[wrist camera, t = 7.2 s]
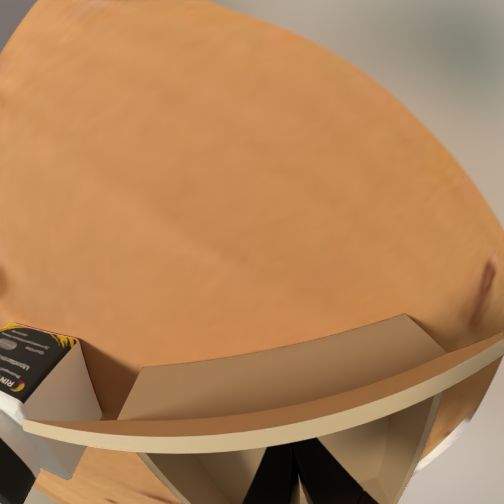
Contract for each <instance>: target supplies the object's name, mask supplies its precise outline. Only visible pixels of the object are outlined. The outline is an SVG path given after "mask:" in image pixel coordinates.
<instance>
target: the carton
mask: <svg viewBox="0 0 504 504" xmlns="http://www.w3.org/2000/svg"><path fill="white" fill-rule="evenodd" d="M445 354H447V352H446V351H445V350H444V349H443V348H442V347H441V346H440V345H439V344H437V343H436V342H435V341H434V340H433V339H432V338H431V337H430V336H429V335H428V334H427V333H426V332H425V331H424V330H422V329H421V328H420V327H419V326H418V325H417V324H416V323H415V322H414V321H413V320H412V319H410V318H409V317H408V316H407V315H406V314H402V315H399V316H396V317H393V318H390V319H387V320H384V321H380V322H377V323H374V324H371V325H367V326H364V327H361V328H357V329H354V330H350V331H346V332H343V333H339V334H335V335H332V336H328V337H324V338H320V339H316V340H312V341H308V342H303V343H299V344H294V345H290V346H285V347H281V348H276V349H271V350H266V351H261V352H256V353H250V354H245V355H239V356H233V357H227V358H220V359H214V360H207V361H199V362H192V363H183V364H174V365H165V366H154V367H142V369H141V371H140V373H139V375H138V377H137V379H136V381H135V383H134V385H133V387H132V389H131V391H130V393H129V396H128V398H127V400H126V402H125V404H124V406H123V408H122V410H121V412H120V414H119V416H118V419H117V420H144V421H155V420H186V419H201V418H213V417H223V416H231V415H239V414H247V413H253V412H260V411H266V410H271V409H277V408H282V407H287V406H292V405H297V404H301V403H306V402H310V401H314V400H318V399H322V398H326V397H330V396H334V395H337V394H341V393H344V392H348V391H351V390H354V389H358V388H361V387H364V386H367V385H370V384H373V383H376V382H379V381H382V380H384V379H387V378H390V377H393V376H395V375H398V374H401V373H403V372H406V371H408V370H411V369H413V368H416V367H418V366H420V365H423V364H425V363H427V362H430V361H432V360H434V359H436V358H438V357H440V356H443V355H445ZM442 394H443V391H441V392H439V393H437V394H435V395H433V396H431V397H429V398H427V399H425V400H423V401H421V402H418V403H416V404H414V405H412V406H409V407H407V408H404V409H402V410H400V411H397V412H395V413H392V414H389V415H387V416H384V417H381V418H379V419H376V420H373V421H370V422H367V423H364V424H361V425H358V426H355V427H352V428H348V429H345V430H341V431H338V432H334V433H331V434H327V435H323V436H319V437H317V438H318V439H319V440H320V441H321V443H322V444H323V445H324V446H325V447H326V448H327V449H328V451H329V452H330V453H331V454H332V455H333V456H334V457H335V458H336V460H337V461H338V462H339V463H340V464H341V465H342V466H343V467H344V468H345V469H346V470H347V472H348V473H349V474H350V475H351V476H352V477H353V478H354V479H355V480H356V481H357V482H358V483H359V484H360V485H361V486H362V487H363V489H364V491H367V492H368V493H369V494H370V495H371V497H372V498H374V499H375V500H376V501H377V502H378V503H379V504H397V503H398V501H399V499H400V498H401V496H402V494H403V492H404V490H405V488H406V486H407V484H408V482H409V480H410V478H411V476H412V474H413V472H414V470H415V468H416V466H417V463H418V461H419V459H420V456H421V454H422V452H423V449H424V447H425V444H426V442H427V439H428V437H429V434H430V431H431V428H432V426H433V423H434V420H435V417H436V414H437V411H438V407H439V404H440V401H441V397H442ZM265 450H266V447H262V448H255V449H247V450H238V451H227V452H213V453H186V454H170V453H144V452H136V453H137V455H138V456H139V457H140V458H141V459H142V461H143V462H144V463H145V464H146V465H147V466H148V468H149V469H150V470H151V471H152V472H153V473H154V474H155V476H156V477H157V478H158V479H159V480H160V481H161V482H162V483H163V484H164V485H165V486H166V487H167V488H168V489H169V490H170V491H171V492H172V493H173V494H174V495H175V496H176V497H177V498H178V499H179V500H180V501H181V502H182V503H183V504H242V502H243V500H244V498H245V495H246V493H247V491H248V489H249V487H250V485H251V482H252V480H253V478H254V476H255V473H256V471H257V469H258V466H259V464H260V462H261V459H262V457H263V454H264V452H265ZM299 481H300V479H299ZM300 504H308V503H307V500H306V498H305V495H304V492H303V489H302V486H301V483H300Z"/></svg>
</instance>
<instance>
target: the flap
mask: <svg viewBox="0 0 504 504" xmlns="http://www.w3.org/2000/svg"><path fill="white" fill-rule="evenodd" d="M502 355H504V331H503V332H501V333H499V334H496V335H494V336H492V337H489V338H487V339H485V340H482V341H480V342H477V343H475V344H472V345H470V346H467V347H464V348H462V349H459V350H456V351H453V352H450V353H447V354H445V355H443V356H440V357H438V358H436V359H434V360H432V361H430V362H427V363H425V364H423V365H420V366H418V367H416V368H413V369H411V370H408V371H406V372H403V373H401V374H398V375H395V376H393V377H390V378H387V379H384V380H382V381H379V382H376V383H373V384H370V385H367V386H364V387H361V388H358V389H354V390H351V391H348V392H344V393H341V394H337V395H334V396H330V397H326V398H322V399H318V400H314V401H310V402H306V403H301V404H297V405H292V406H287V407H282V408H277V409H271V410H266V411H260V412H253V413H247V414H239V415H231V416H223V417H213V418H201V419H186V420H155V421H144V420H107V421H48V420H33V419H22V425H23V431H26V432H29V433H33V434H36V435H40V436H43V437H47V438H51V439H55V440H60V441H64V442H69V443H74V444H79V445H84V446H90V447H96V448H103V449H111V450H120V451H130V452H144V453H170V454H186V453H213V452H227V451H238V450H247V449H255V448H262V447H269V446H275V445H281V444H286V443H291V442H296V441H301V440H306V439H310V438H315V437H319V436H323V435H327V434H331V433H334V432H338V431H341V430H345V429H348V428H352V427H355V426H358V425H361V424H364V423H367V422H370V421H373V420H376V419H379V418H381V417H384V416H387V415H389V414H392V413H395V412H397V411H400V410H402V409H404V408H407V407H409V406H412V405H414V404H416V403H418V402H421V401H423V400H425V399H427V398H429V397H431V396H433V395H435V394H437V393H439V392H441V391H443V390H445V389H447V388H449V387H451V386H453V385H455V384H457V383H459V382H460V381H462V380H464V379H466V378H467V377H469V376H471V375H473V374H474V373H476V372H478V371H479V370H481V369H482V368H484V367H486V366H487V365H489V364H490V363H492V362H493V361H495V360H496V359H498V358H499V357H501V356H502Z"/></svg>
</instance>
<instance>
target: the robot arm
mask: <svg viewBox="0 0 504 504" xmlns="http://www.w3.org/2000/svg"><path fill="white" fill-rule="evenodd" d="M299 479H300V481H299ZM300 483H301V486H302V489H303V492H304V495H305V498H306V500H307V503H308V504H379V503H378V502H377V501H376V500H375V499H374V498H372V497H371V495H370V494H369V493H368V492H367V491H364V489H363V487H362V486H361V485H360V484H359V483H358V482H357V481H356V480H355V479H354V478H353V477H352V476H351V475H350V474H349V473H348V472H347V470H346V469H345V468H344V467H343V466H342V465H341V464H340V463H339V462H338V461H337V460H336V458H335V457H334V456H333V455H332V454H331V453H330V452H329V451H328V449H327V448H326V447H325V446H324V445H323V444H322V443H321V441H320V440H319V439H318V438H317V437H315V438H310V439H306V440H301V441H296V442H291V443H286V444H281V445H275V446H269V447H266V450H265V452H264V454H263V457H262V459H261V462H260V464H259V466H258V469H257V471H256V473H255V476H254V478H253V480H252V482H251V485H250V487H249V489H248V491H247V493H246V495H245V498H244V500H243V502H242V504H300Z"/></svg>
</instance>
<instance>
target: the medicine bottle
mask: <svg viewBox="0 0 504 504" xmlns="http://www.w3.org/2000/svg"><path fill="white" fill-rule="evenodd" d="M101 417H102V411H101V408H100V406H99V403H98V400H97V397H96V395H95V392H94V389H93V386H92V383H91V380H90V377H89V374H88V371H87V367H86V364H85V360H84V357H83V353H82V350H81V346H80V342H79V340H78V339H76V338H73V337H69V336H64V335H60V334H55V333H51V332H47V331H43V330H39V329H35V328H31V327H28V326H24V325H21V324H17V323H14V322H10V323H8V324H7V325H6V326H4V327H3V328H2V329H0V503H1V504H23V503H24V501H25V499H26V497H27V495H28V493H29V491H30V490H31V487H32V486H33V484H34V482H35V480H36V478H37V476H38V475H39V473H40V468H42V469H44V470H46V471H48V472H50V473H52V474H55V475H57V476H59V477H61V478H63V479H66V480H69V479H71V478H72V475H73V473H74V471H75V469H76V467H77V465H78V463H79V461H80V459H81V457H82V455H83V453H84V451H85V449H86V447H87V446H84V445H79V444H74V443H69V442H64V441H60V440H55V439H51V438H47V437H43V436H40V435H36V434H33V433H29V432H26V431H23V425H22V419H33V420H48V421H100V419H101ZM39 467H40V468H39Z"/></svg>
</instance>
